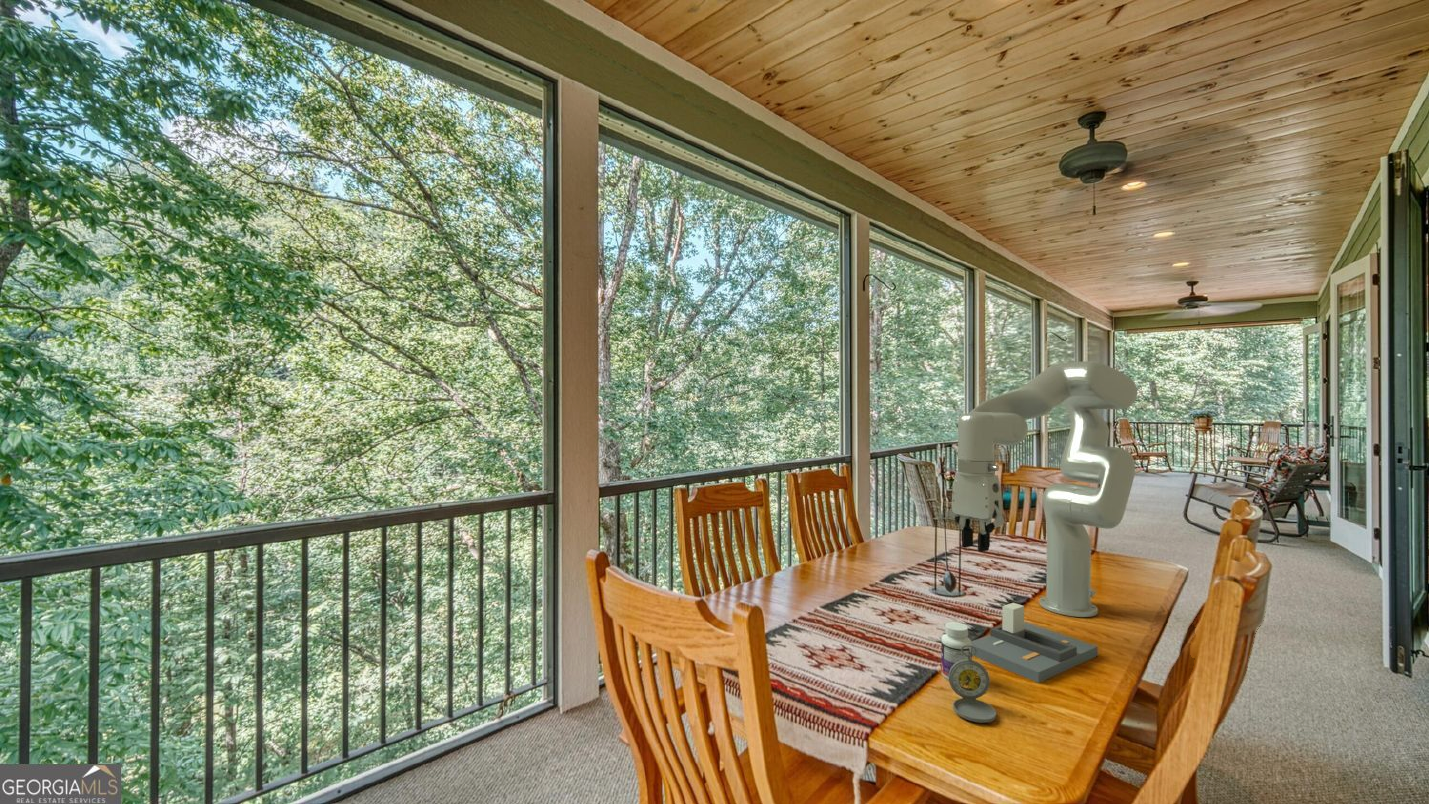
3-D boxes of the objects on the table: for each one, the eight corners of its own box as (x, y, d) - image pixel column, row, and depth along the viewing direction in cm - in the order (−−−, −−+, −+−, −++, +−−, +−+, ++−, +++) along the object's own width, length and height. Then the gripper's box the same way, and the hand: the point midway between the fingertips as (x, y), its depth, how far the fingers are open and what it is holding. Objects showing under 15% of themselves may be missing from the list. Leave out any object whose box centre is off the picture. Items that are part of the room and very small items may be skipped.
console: (1026, 630, 131) (1026, 615, 131) (1097, 655, 118) (1097, 639, 118) (966, 652, 120) (966, 635, 120) (1038, 683, 107) (1038, 664, 107)
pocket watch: (975, 729, 92) (976, 666, 92) (936, 703, 100) (936, 646, 100) (1012, 718, 95) (1012, 657, 95) (971, 694, 103) (971, 638, 103)
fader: (1011, 632, 125) (1012, 602, 125) (1025, 637, 122) (1025, 606, 122) (1000, 636, 123) (1001, 605, 123) (1014, 641, 120) (1014, 610, 120)
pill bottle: (948, 667, 113) (948, 618, 113) (976, 676, 109) (976, 626, 109) (936, 676, 109) (936, 625, 109) (964, 686, 105) (965, 634, 105)
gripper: (1020, 470, 125) (1020, 555, 125) (954, 463, 139) (953, 539, 139) (1000, 473, 121) (999, 559, 121) (934, 465, 135) (933, 543, 135)
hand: (975, 547), depth 130 cm, fingers open, 3 cm apart
